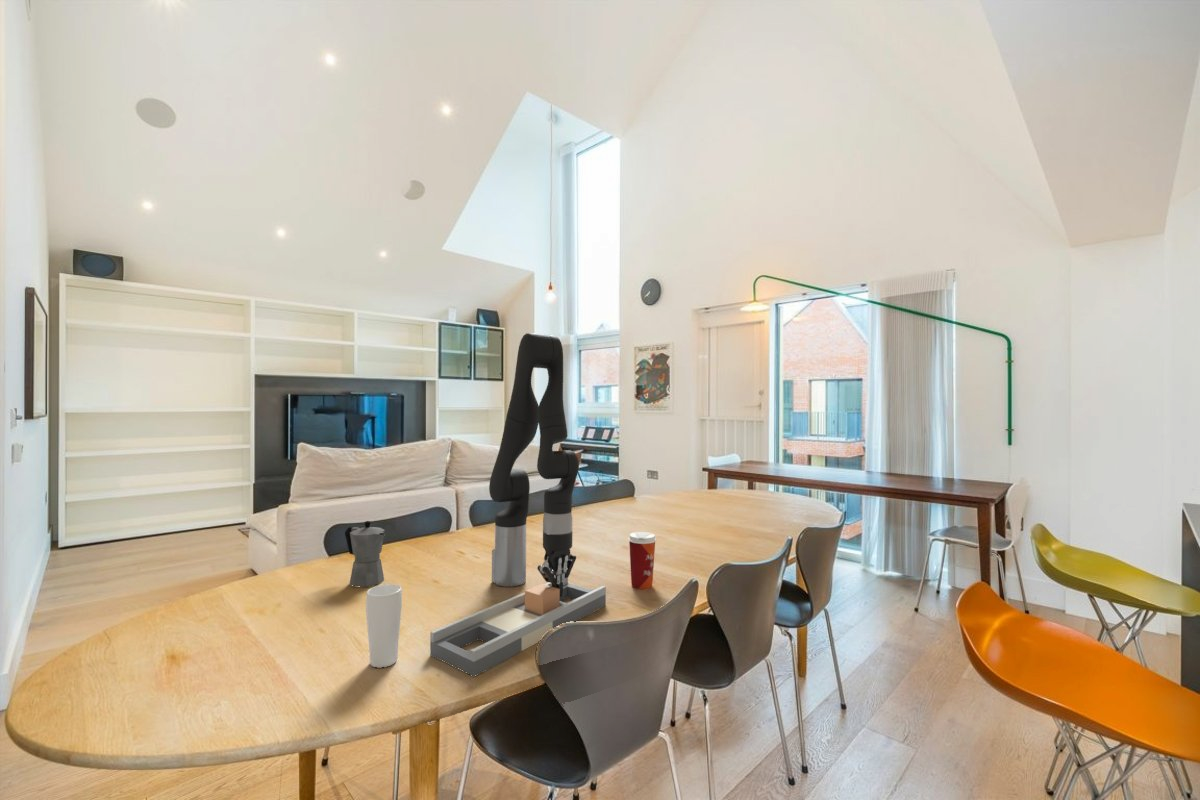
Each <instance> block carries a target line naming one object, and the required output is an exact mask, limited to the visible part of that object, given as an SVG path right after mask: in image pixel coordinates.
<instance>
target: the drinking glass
mask: <svg viewBox="0 0 1200 800" xmlns="http://www.w3.org/2000/svg"><path fill="white" fill-rule="evenodd" d="M402 590H403V589H402V587H401V585H399V584H394V583H393V584H392V583H388V584H387V583H386V584H385V583H384V584H378V585H375V586H372V587H370V588H369V589H368V590H366V591H367V592H366V601H365V604H366V605H365V610H366V611H365V613H366V625H367V636H368V637H367V638H368V639H367V640H368V648H369V650H368V652H369V664H370V666H371V667H373V668H375V667H377V669H383V668H382V667H384V668H387V666H388V667H391V666H392V665H394V664H395V663H396V662H397V660H398V658H399V657H398V656H399V639H400V628H401V620H402V610H403V609H402V608H403V593H402V592H403V591H402Z"/></svg>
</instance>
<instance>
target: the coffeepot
mask: <svg viewBox="0 0 1200 800" xmlns="http://www.w3.org/2000/svg"><path fill="white" fill-rule="evenodd" d="M344 536H345V537H344V538H345V541H346V544H347V548H348V553H349V554H350V555H353V556H354V561H353V564H352V569H351V574H350V580H349V584H350V586H351V585H353V586H360V587H363V588H368V587H367V586H371V587H373V586H372V585H375V586H377V585H376V584H378V585H380V584H382V583H383V581H384V580H385V575H384V570H383V565H382V559H381V555H380V554H381V553H382V551H383V550H382V549H383V543H384V537H386V533H385V529H383V528H382V527H377V526H375V527H374V526H373V527H372V526H371V521H370V520H367V521H364V527H361V528H360V527H357V526H356V527H355V526H348V527H347V529H345V531H344ZM379 583H380V584H379ZM353 586H352V587H353Z"/></svg>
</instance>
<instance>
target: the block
mask: <svg viewBox="0 0 1200 800" xmlns="http://www.w3.org/2000/svg"><path fill="white" fill-rule="evenodd" d="M544 584H545V583H540V584H537V585H535V586H532V587H531V588H528V589H526V590H524V592H525V609H526V610H529V611H532V612H535V613H538V614H541V615H544V614H546V613H548V612H550V611H552V610H554V609H556V608H558V607H559V600H560V589H558V588H555V587H551V586H548V585H544Z"/></svg>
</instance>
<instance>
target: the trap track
mask: <svg viewBox="0 0 1200 800" xmlns="http://www.w3.org/2000/svg"><path fill="white" fill-rule="evenodd" d="M543 584H544V585H548V586H551V587H552V584H551V583H549V582H546V583H543ZM606 591H607V586H605V585H602V586H599V587H597V588H595V589H589V588H586V587H584V586H583V587H582V586H579V585H577V584H572V583H569V577H568V578H565V580H564V582H563V594H562V597H560V600H559V607H558V608H556V609H554V610H552V611H550V612H548V613H546V614H544V615H541V614H538V613H535V612H532V611H529V610H526V609H525V591H524V592H522V593H520V594H517V595H515V596H513V597H510V598H507V599H506V600H504V601H500V602H498V603H496V604H493V605H491V606H489V607H486V608H484V609H482V610H480V611H477V612H475V613H471V614H470V615H467V616H465V617H463V618H460V619H457V620H455V621H453V622H450V623H449V624H446V625H444V626H441V627H438V628H436V629H433V630H432V631H430V635H429V636H430V647H429V648H430V649H429V650H430V652H429V653H430V654H429V655H430V656H431V655H432V656H431V657H433V656H434V657H433V658H435V657H436V658H435V659H437V658H438V659H437V660H439V659H441V660H443V661H445V662H447V663H449V664H451V665H453V666H454V667H453V666H452V667H453V668H455V667H456V668H455V669H457V668H459V669H461V670H463V671H464V672H463V671H462V672H463V673H465V672H467V673H469V674H470V675H472V676H475V675H477V674H479V673H481V672H482V673H484V672H486V671H488V670H490V669H492V668H493V667H495V666H497V665H499V664H500V662H501V663H503V662H505V661H506V660H508V659H510V658H512V657H514V656H515V655H518V654H519V653H521V652H523V651H525V650H527V649H528V648H530V647H532V646H533V645H536V644H538V643H539V642H540V641H539V640H540V639H541V638H542V636H543V635H544V634H545V633H546V632H547V631H549V630H550V629H552V628H554V627H556V626H558V625H560V624H562V623H566V622H570V621H576V622H578V621H579V620H581V619H580V618H582V619H583V618H585V617H587V616H589V615H590V614H593V613H594V612H596V611H597V610H598V611H599V610H600V609H602V608H603V607H605V606H606V603H607V600H606V598H607V597H606V596H607V594H606ZM564 599H571V600H570V601H568V602H564V601H563V600H564ZM577 620H578V621H577ZM477 639H481V640H483V641H482V642H484V641H485V642H484V643H482V644H480V645H478V646H476V647H475V648H472V649H470V651H468V650H466V649H464V648H463V647H462V646H464V647H466V646H467V645H466V644H468V645H470V644H472V643H474V642H476V641H475V640H477ZM481 640H480V641H481ZM473 641H474V642H473ZM477 641H478V640H477ZM538 641H539V642H538ZM471 642H472V643H471ZM469 643H470V644H469ZM465 645H466V646H465ZM460 647H462V648H460ZM441 660H440V661H441ZM443 661H442V662H443ZM502 661H503V662H502ZM445 662H444V663H445ZM447 663H446V664H447ZM449 664H448V665H449ZM451 665H450V666H451ZM489 668H490V669H489ZM459 669H458V670H459ZM461 670H460V671H461ZM485 670H486V671H485ZM483 671H484V672H483ZM467 673H466V674H467ZM482 673H481V674H482ZM470 675H469V676H470ZM479 675H480V674H479ZM472 676H471V677H472ZM477 676H478V675H477ZM475 677H476V676H475Z"/></svg>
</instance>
